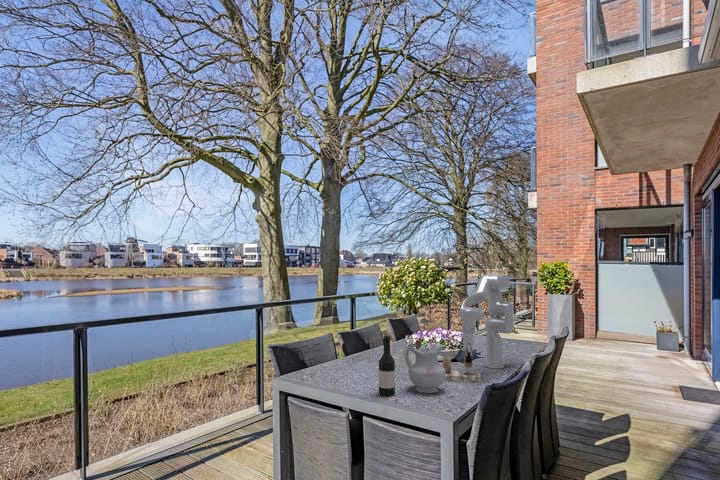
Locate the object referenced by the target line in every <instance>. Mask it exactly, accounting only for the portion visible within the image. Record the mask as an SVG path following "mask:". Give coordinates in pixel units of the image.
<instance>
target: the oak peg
mask: <svg viewBox="0 0 720 480" xmlns="http://www.w3.org/2000/svg"><path fill="white" fill-rule="evenodd" d="M471 349H472V348H471ZM467 350H468V349H467ZM463 352H464V354H463V355H464V356H463V357H464V359H463V362H464V363H463V364H464V368H469V369H470V368H473V362H472V363H466V350H465V351H463ZM471 356H472V357H473V350H472V351H471Z"/></svg>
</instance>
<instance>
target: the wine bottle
mask: <svg viewBox="0 0 720 480" xmlns="http://www.w3.org/2000/svg"><path fill="white" fill-rule="evenodd" d="M395 365H396V362H395V359H394V357H393V355H392V354H391V337H390V335H389V334H384V336H383V354H382V356H381V357H380V358H379V360H378V395H379V394H380V395H381V397H384V396H385V397H386V398H391V397H394V396H395V395H394V394H396V381H395V380H396V366H395ZM380 395H379V396H380ZM390 396H391V397H390Z"/></svg>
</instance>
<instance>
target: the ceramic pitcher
mask: <svg viewBox="0 0 720 480" xmlns="http://www.w3.org/2000/svg"><path fill="white" fill-rule="evenodd" d="M444 350H445V348H444V345H442V344H438V343H435V342H434V343H432V344H430V345H429V346H424V345H421V347H420V348H419V350H417V349H416V347H414V343H408V344H407V346H406V347H405V349H404V360H405V363H406V366H407V367H408V375H409V376H408V377H409V380H410V381H411V383H412V384H413V385H414V386H415V387H416V388H415V391H416V392H418V391H420V392H419V393H422V392H424V393H423V394H431V393H432V394H433V393H439V392H441V390H440V389H439V388H438V387H440V386H442V385H443V383H444V382H445V381H444V379H445V369H444V368H443V364H440V363H439V361H438V357H439V353H440V352H442V351H444ZM411 351H412V352H413V353H414V354H415V362H414V363H413V364H411V361H410V360H411V359H410V358H409V352H411Z"/></svg>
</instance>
